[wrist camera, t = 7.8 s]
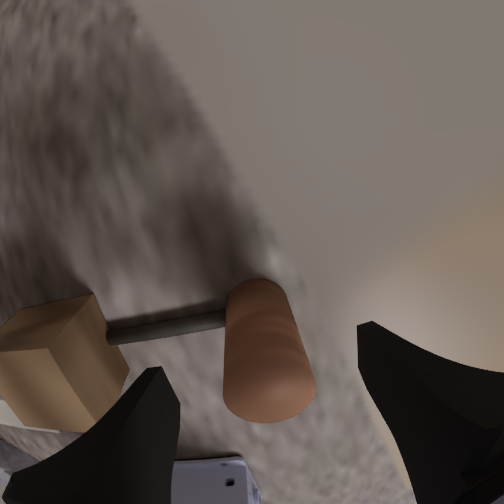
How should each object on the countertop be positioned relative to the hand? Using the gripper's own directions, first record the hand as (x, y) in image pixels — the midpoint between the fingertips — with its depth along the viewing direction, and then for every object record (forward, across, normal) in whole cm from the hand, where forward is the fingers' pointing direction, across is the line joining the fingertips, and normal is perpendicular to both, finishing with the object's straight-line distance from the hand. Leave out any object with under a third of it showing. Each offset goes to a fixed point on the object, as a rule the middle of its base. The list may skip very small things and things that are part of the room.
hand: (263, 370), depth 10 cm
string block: (+5, +6, 0) cm, 8 cm away
